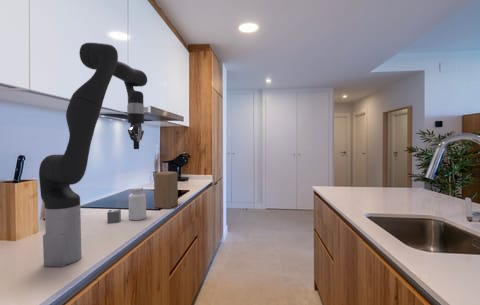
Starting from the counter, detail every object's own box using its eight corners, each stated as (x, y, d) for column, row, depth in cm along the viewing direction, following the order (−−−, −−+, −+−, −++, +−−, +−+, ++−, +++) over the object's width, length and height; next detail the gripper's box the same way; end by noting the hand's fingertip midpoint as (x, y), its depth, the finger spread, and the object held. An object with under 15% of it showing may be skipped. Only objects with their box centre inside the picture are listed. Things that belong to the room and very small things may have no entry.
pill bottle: (131, 221, 122) (131, 189, 122) (126, 218, 128) (126, 187, 128) (148, 218, 127) (148, 188, 127) (143, 215, 133) (142, 186, 133)
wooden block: (153, 208, 148) (153, 173, 147) (163, 204, 158) (163, 171, 157) (169, 209, 145) (168, 173, 145) (178, 205, 155) (178, 171, 154)
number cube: (119, 222, 122) (119, 211, 121) (107, 223, 120) (107, 212, 120) (120, 219, 126) (120, 208, 126) (109, 220, 125) (109, 209, 125)
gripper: (137, 111, 119) (138, 149, 120) (148, 114, 132) (149, 148, 133) (121, 111, 120) (122, 149, 120) (134, 114, 133) (135, 148, 133)
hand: (136, 149), depth 127 cm, fingers closed
